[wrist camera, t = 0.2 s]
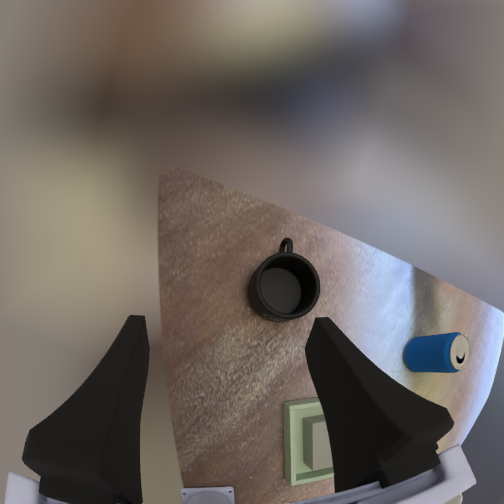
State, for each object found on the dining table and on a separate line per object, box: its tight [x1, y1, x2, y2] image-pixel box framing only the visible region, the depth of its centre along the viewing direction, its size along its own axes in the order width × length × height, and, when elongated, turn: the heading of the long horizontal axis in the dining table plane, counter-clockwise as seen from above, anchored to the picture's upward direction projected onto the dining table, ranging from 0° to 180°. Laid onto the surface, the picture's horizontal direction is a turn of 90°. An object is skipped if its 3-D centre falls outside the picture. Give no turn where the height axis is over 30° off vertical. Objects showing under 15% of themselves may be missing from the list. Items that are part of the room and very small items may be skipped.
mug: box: [248, 238, 320, 322], centre depth 44 cm, size 12×9×7 cm
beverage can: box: [405, 332, 472, 373], centre depth 42 cm, size 6×6×12 cm
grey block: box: [303, 414, 333, 471], centre depth 39 cm, size 8×12×4 cm, turn 93°
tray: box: [283, 397, 334, 486], centre depth 40 cm, size 14×18×3 cm
